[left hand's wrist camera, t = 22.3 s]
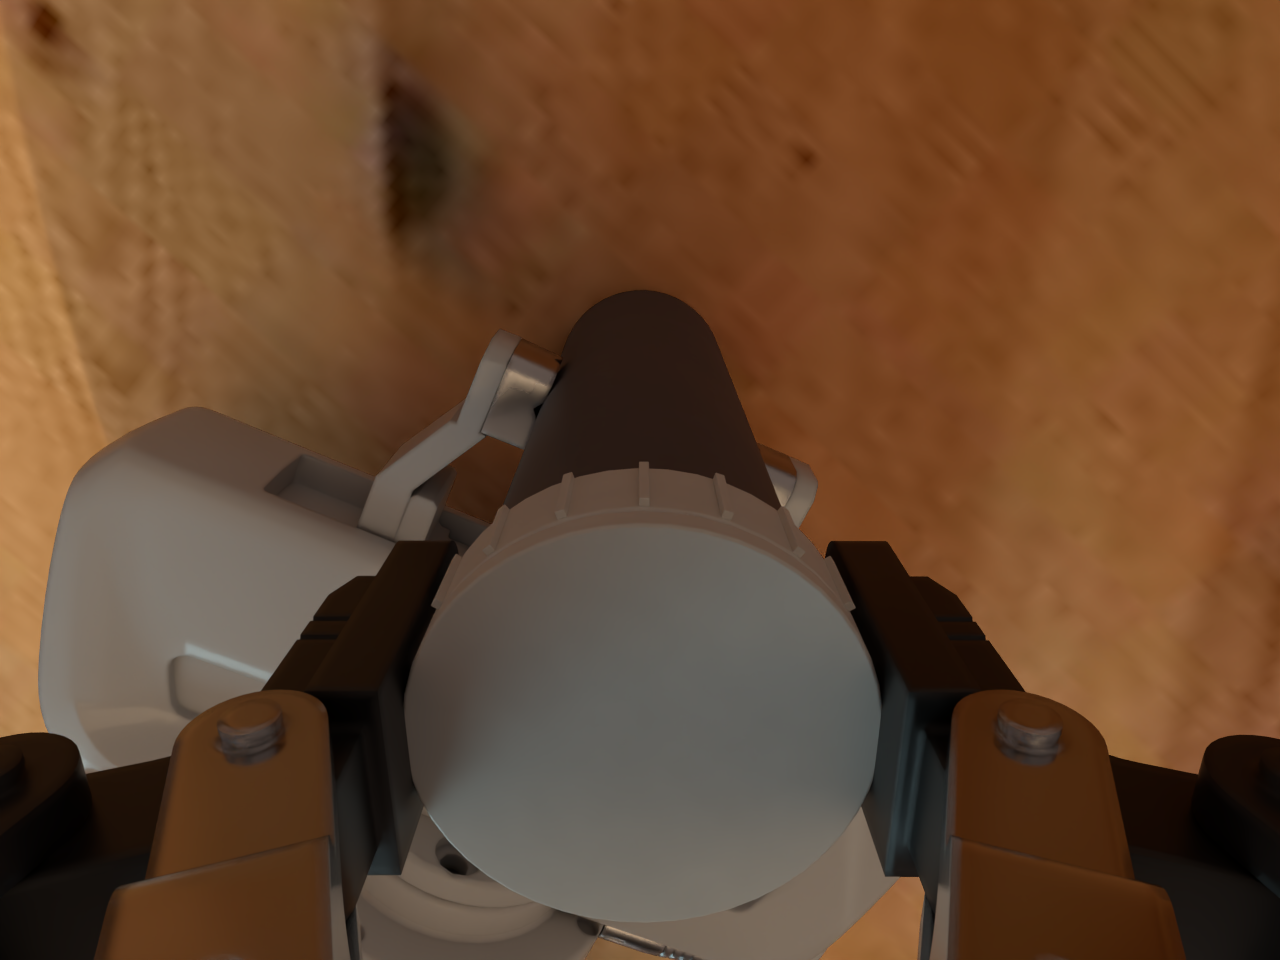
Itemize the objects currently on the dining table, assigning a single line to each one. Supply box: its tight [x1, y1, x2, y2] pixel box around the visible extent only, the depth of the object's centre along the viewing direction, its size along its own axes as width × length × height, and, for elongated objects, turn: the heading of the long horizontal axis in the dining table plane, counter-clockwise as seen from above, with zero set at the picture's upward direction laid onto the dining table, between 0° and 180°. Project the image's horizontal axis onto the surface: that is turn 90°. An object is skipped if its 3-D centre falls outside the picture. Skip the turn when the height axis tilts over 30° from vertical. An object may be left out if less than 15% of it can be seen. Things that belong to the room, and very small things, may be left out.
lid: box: [404, 462, 882, 923], centre depth 10 cm, size 5×5×2 cm
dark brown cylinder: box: [503, 290, 781, 511], centre depth 17 cm, size 4×4×16 cm
